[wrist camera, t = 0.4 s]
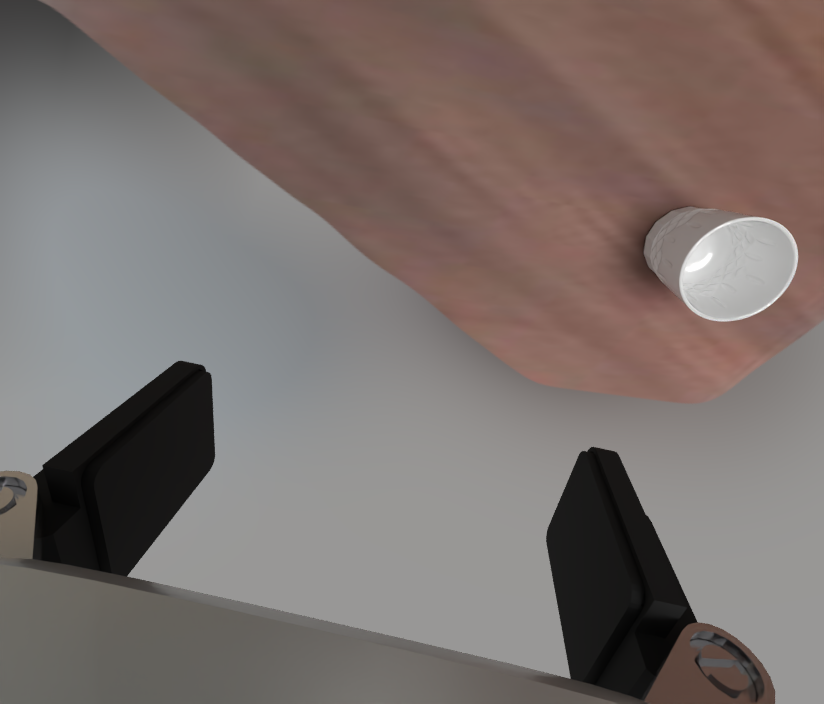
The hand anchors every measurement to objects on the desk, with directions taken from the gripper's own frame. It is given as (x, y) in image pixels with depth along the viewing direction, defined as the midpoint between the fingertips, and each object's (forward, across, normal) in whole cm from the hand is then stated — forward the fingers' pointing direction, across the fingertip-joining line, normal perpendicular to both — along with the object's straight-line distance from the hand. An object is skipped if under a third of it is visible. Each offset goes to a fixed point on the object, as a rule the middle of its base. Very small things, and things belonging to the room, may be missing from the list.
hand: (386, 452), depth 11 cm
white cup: (+36, -22, -2) cm, 42 cm away
